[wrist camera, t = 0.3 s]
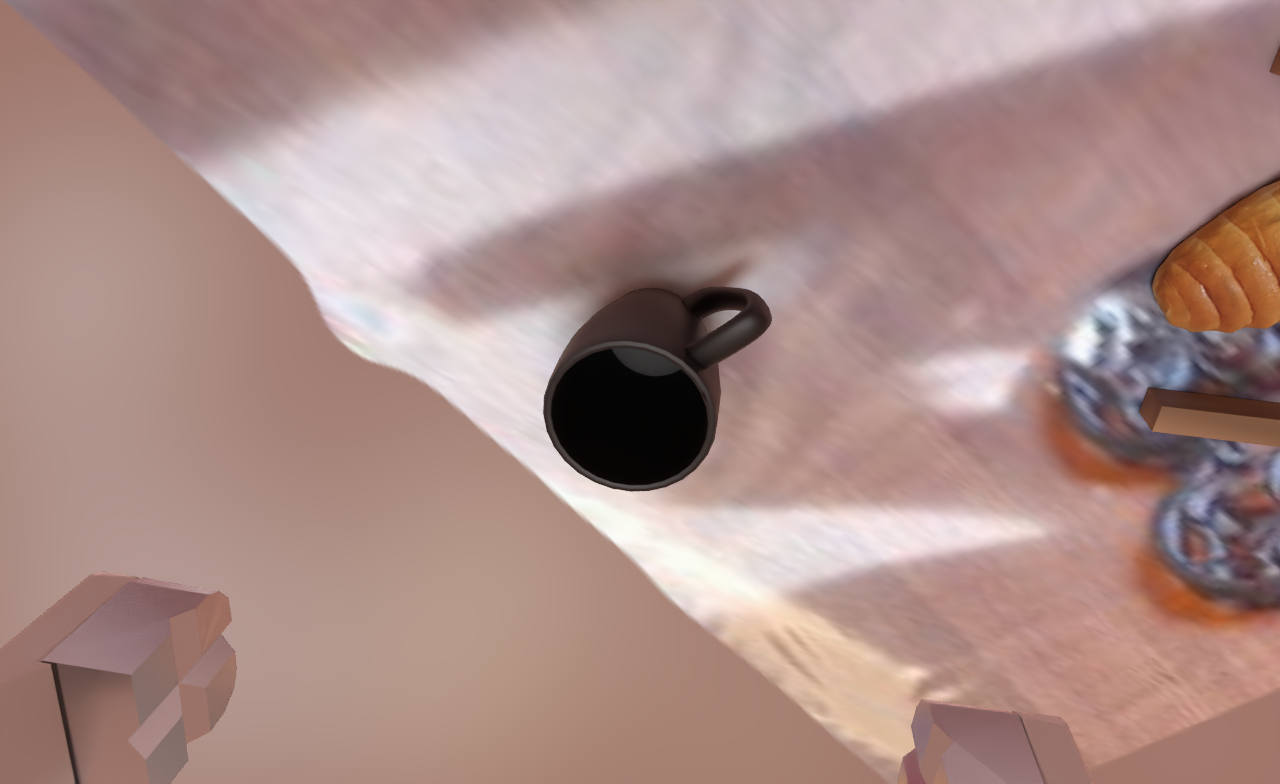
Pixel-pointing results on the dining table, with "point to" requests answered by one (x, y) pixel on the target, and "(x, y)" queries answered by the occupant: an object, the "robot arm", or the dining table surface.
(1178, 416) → the guide channel
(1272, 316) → the pastry
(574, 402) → the mug
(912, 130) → the dining table surface
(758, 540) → the dining table surface
